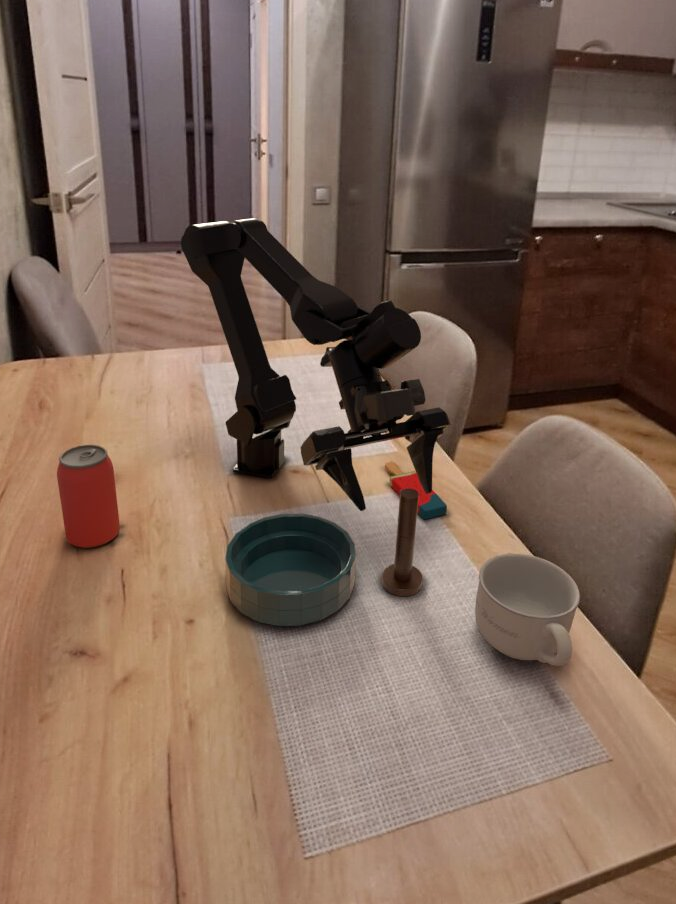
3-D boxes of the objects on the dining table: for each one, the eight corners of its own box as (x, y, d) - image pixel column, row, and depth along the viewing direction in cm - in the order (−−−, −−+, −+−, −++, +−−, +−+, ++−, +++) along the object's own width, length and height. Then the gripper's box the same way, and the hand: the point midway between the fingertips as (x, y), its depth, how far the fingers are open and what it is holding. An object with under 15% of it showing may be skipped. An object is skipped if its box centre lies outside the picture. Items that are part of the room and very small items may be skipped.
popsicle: (401, 456, 109) (449, 505, 96) (400, 464, 109) (449, 513, 97) (376, 461, 107) (422, 512, 94) (375, 469, 107) (421, 520, 95)
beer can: (131, 527, 90) (123, 448, 85) (96, 555, 84) (86, 473, 79) (91, 515, 92) (81, 438, 87) (54, 542, 86) (41, 461, 81)
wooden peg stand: (377, 592, 81) (384, 501, 76) (386, 566, 85) (392, 478, 80) (418, 599, 80) (427, 508, 75) (424, 573, 84) (433, 485, 80)
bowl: (205, 615, 76) (203, 579, 74) (256, 536, 89) (255, 505, 87) (334, 642, 73) (335, 606, 71) (366, 556, 87) (368, 524, 85)
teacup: (463, 604, 80) (470, 549, 77) (551, 603, 81) (561, 549, 78) (489, 703, 67) (499, 641, 64) (594, 700, 68) (608, 639, 65)
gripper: (310, 368, 75) (349, 503, 70) (449, 348, 83) (492, 467, 78) (285, 404, 84) (318, 525, 79) (413, 383, 92) (449, 491, 88)
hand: (397, 501), depth 81 cm, fingers open, 9 cm apart
